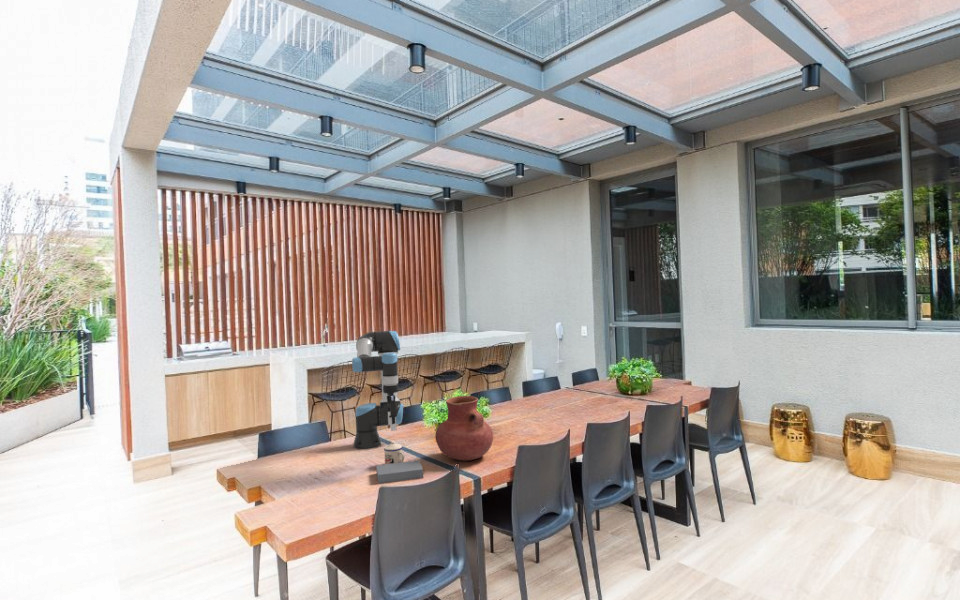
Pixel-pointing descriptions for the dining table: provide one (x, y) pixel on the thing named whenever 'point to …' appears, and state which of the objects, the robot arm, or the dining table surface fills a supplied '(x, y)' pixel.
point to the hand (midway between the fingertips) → (392, 427)
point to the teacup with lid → (393, 453)
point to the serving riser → (399, 471)
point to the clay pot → (464, 430)
